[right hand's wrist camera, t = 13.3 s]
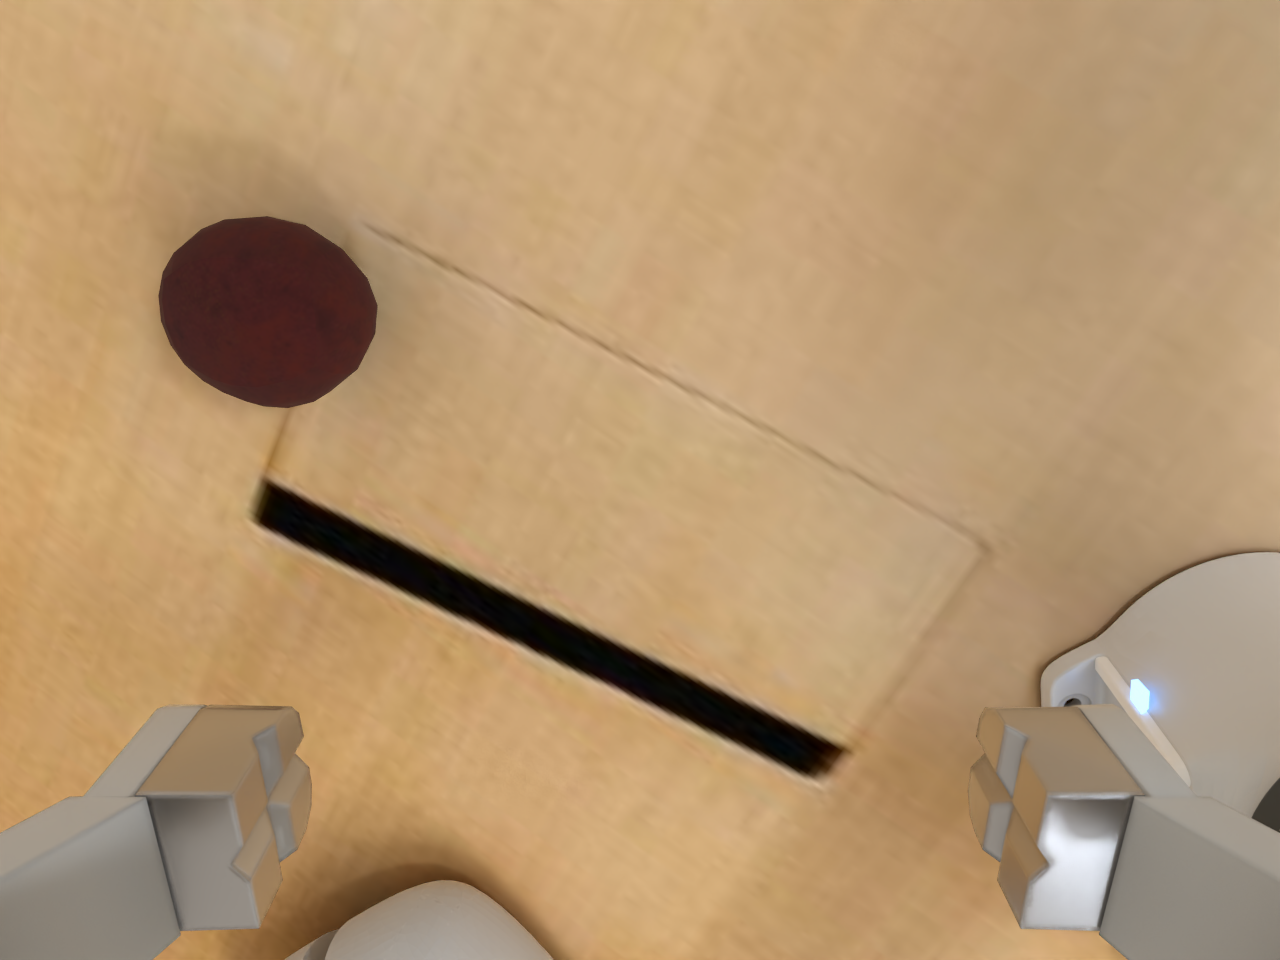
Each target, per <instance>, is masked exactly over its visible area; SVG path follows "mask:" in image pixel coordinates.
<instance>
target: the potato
mask: <svg viewBox="0 0 1280 960" xmlns="http://www.w3.org/2000/svg"><path fill="white" fill-rule="evenodd" d="M159 305H160V315H161V322H162V324H163V327H164V329H165V332H166V334H167V337H168V339H169V342H170V344H171V346H172V348H173V349H174V350H175V352H176V353H177V355H178V356H179V357H180V359H181V360H182V362H183V363H184V364H185V365H186V366H187V367H188V368H189V369H190V370H191V371H193V372H194V373H195V374H196V375H197V376H198V377H199V378H201V379H202V380H203V381H204V382H206V383H208V384H210V385H211V386H213V387H215V388H217V389H218V390H220V391H222V392H224V393H226V394H229V395H231V396H234V397H236V398H239V399H242V400H244V401H247V402H251V403H254V404H258V405H261V406H267V407H282V408H290V407H294V406H298V405H302V404H306V403H310V402H314V401H316V400H317V399H319V398H320V397H322V396H324V395H325V394H327V393H328V392H330V391H331V390H332V389H334V388H335V387H336V386H337V385H339V384H340V383H341V382H342V381H343V380H345V379H346V378H347V377H348V376H350V375H351V374H352V373H353V372H354V371H356V370H357V369H358V367H359V365H360V363H361V361H362V359H363V357H364V355H365V353H366V351H367V349H368V347H369V345H370V343H371V341H372V339H373V337H374V335H375V328H376V317H377V303H376V300H375V297H374V295H373V292H372V289H371V287H370V284H369V281H368V279H367V277H366V276H365V275H364V274H363V273H362V272H361V270H360V269H359V268H358V267H357V266H356V265H355V263H354V262H353V261H352V260H351V259H350V258H349V256H348V255H347V254H346V253H345V252H344V251H343V250H342V249H341V248H340V247H338V246H337V245H335V244H334V243H332V242H331V241H329V240H327V239H326V238H324V237H323V236H321V235H320V234H318V233H317V232H315V231H314V230H312V229H310V228H309V227H307V226H306V225H302V224H298V223H294V222H289V221H285V220H281V219H276V218H272V217H268V216H266V217H254V218H241V219H228V220H223V221H220V222H218V223H215V224H213V225H211V226H208V227H206V228H203V229H201V230H200V231H199V232H198V233H197V234H195V235H194V236H193V237H192V238H191V239H190V240H188V241H187V242H186V243H185V244H184V245H183V246H181V247H180V248H179V249H178V250H177V251H176V252H174V253H173V255H172V257H171V259H170V261H169V262H168V264H167V266H166V268H165V270H164V271H163V274H162V280H161V286H160V291H159Z"/></svg>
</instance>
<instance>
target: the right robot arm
mask: <svg viewBox="0 0 1280 960" xmlns="http://www.w3.org/2000/svg"><path fill="white" fill-rule="evenodd" d="M1072 698H1074V700H1073V701H1072V702H1070V703H1068V704H1065V702H1066V701H1067V700H1069V699H1072ZM303 737H304V735H303V730H302V725H301V721H300V716H299V713H298V712H297V711H296V710H295V709H294V708H293V707H287V706H241V705H209V706H206V705H167V706H164V707H161V708H158V709H157V710H156V711H155V712H154V713H153V714H152V715H151V717H150V718H149V719H148V720H147V721H146V723H145V724H144V725H143V726H142V727H141V728H140V730H139V731H138V732H137V733H136V734H135V736H134V737H133V738H132V739H131V740H130V741H129V743H128V744H127V745H126V746H125V747H124V749H123V750H122V751H121V752H120V753H119V754H118V756H117V757H116V758H115V759H114V760H113V762H112V763H111V764H110V765H109V766H108V768H107V769H106V770H105V771H104V772H103V773H102V775H101V776H100V777H99V778H98V779H97V781H96V782H95V783H94V784H93V785H92V786H91V788H90V789H89V790H88V791H87V792H86V794H85V795H84V796H83V797H68V798H66V799H64V800H62V801H60V802H58V803H56V804H54V805H52V806H51V807H49V808H47V809H45V810H43V811H41V812H39V813H37V814H35V815H33V816H32V817H30V818H28V819H26V820H24V821H22V822H20V823H18V824H16V825H14V826H12V827H11V828H9V829H7V830H5V831H3V832H1V833H0V960H153V959H154V958H155V957H156V956H157V955H158V954H160V953H161V952H162V951H163V950H164V949H165V948H166V947H168V946H169V945H170V944H171V943H172V942H173V941H175V940H176V939H177V938H178V937H179V936H180V935H181V933H180V931H193V930H227V929H259V928H260V926H261V924H262V922H263V920H264V918H265V916H266V914H267V912H268V910H269V908H270V905H271V903H272V901H273V899H274V897H275V895H276V893H277V891H278V889H279V887H280V885H281V883H282V881H283V879H282V873H281V868H280V862H281V861H282V860H284V859H285V858H286V857H288V856H289V855H291V854H292V853H293V852H295V851H296V850H297V849H298V847H299V845H300V843H301V840H302V838H303V836H304V834H305V831H306V828H307V824H308V819H309V814H310V810H311V805H312V783H311V777H310V770H309V767H308V766H307V765H306V764H305V763H304V762H303V761H302V760H301V759H300V758H299V757H298V756H297V755H296V754H295V752H296V750H297V748H298V746H299V744H300V742H301V741H302V739H303ZM976 737H977V739H978V741H979V742H980V744H981V746H982V748H983V750H984V752H985V754H984V755H983V756H982V757H981V758H980V759H979V760H978V761H977V762H976V763H975V764H974V765H973V766H972V767H971V771H970V779H969V786H968V798H969V810H970V817H971V820H972V824H973V828H974V831H975V834H976V836H977V838H978V840H979V843H980V845H981V847H982V849H983V850H984V851H985V852H987V853H988V854H989V855H991V856H992V857H994V858H995V859H996V860H998V861H999V862H1000V868H999V873H998V879H997V881H998V883H999V885H1000V887H1001V889H1002V891H1003V893H1004V895H1005V897H1006V899H1007V901H1008V903H1009V905H1010V907H1011V910H1012V912H1013V914H1014V916H1015V918H1016V920H1017V922H1018V924H1019V926H1020V928H1021V929H1051V930H1086V931H1100V933H1099V935H1100V936H1101V937H1102V938H1104V939H1105V940H1106V941H1107V942H1108V943H1109V944H1111V945H1112V946H1113V947H1114V948H1115V949H1116V950H1117V951H1119V952H1120V953H1121V954H1122V955H1123V956H1124V957H1126V958H1127V959H1128V960H1280V552H1253V553H1243V554H1237V555H1231V556H1226V557H1222V558H1218V559H1215V560H1211V561H1208V562H1205V563H1202V564H1199V565H1197V566H1194V567H1192V568H1189V569H1187V570H1185V571H1183V572H1181V573H1178V574H1176V575H1174V576H1173V577H1171V578H1169V579H1167V580H1165V581H1164V582H1162V583H1161V584H1159V585H1157V586H1156V587H1154V588H1153V589H1151V590H1150V591H1149V592H1147V593H1146V594H1145V595H1143V596H1142V597H1141V598H1139V599H1138V600H1137V601H1136V602H1135V603H1134V604H1132V605H1131V606H1130V607H1129V608H1128V609H1127V610H1126V611H1125V612H1124V613H1123V614H1122V615H1121V616H1120V617H1119V618H1118V619H1117V620H1116V621H1115V622H1114V623H1113V624H1112V625H1111V626H1110V627H1109V628H1108V629H1107V630H1106V631H1105V632H1103V633H1102V634H1101V635H1100V636H1098V637H1097V638H1096V639H1094V640H1092V641H1090V642H1088V643H1086V644H1084V645H1082V646H1080V647H1078V648H1076V649H1074V650H1072V651H1070V652H1068V653H1066V654H1064V655H1062V656H1061V657H1059V658H1058V659H1056V660H1054V661H1053V662H1052V663H1051V664H1049V665H1048V666H1047V668H1046V669H1045V670H1044V672H1043V674H1042V677H1041V707H987V708H985V709H984V711H983V713H982V714H981V716H980V718H979V724H978V729H977V735H976Z"/></svg>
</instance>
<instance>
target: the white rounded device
mask: <svg viewBox="0 0 1280 960" xmlns="http://www.w3.org/2000/svg"><path fill="white" fill-rule="evenodd" d="M284 960H554V959H553V958H552V957H551V956H550V954H549V953H548V952H547V951H546V950H545V949H544V948H543V947H542V946H541V945H540V944H539V942H538V941H537V940H536V939H535V938H534V937H533V936H532V935H531V934H530V933H529V932H528V931H527V930H526V929H525V928H524V927H523V926H522V925H521V924H520V923H519V922H518V921H517V920H516V919H515V918H514V917H513V916H512V915H511V914H509V913H508V912H507V911H506V910H505V909H504V908H503V907H502V906H500V905H499V904H498V903H497V902H495V901H494V900H493V899H491V898H490V897H489V896H488V895H486V894H485V893H483V892H481V891H479V890H478V889H476V888H474V887H473V886H471V885H468V884H465V883H462V882H458V881H453V880H438V881H433V882H428V883H424V884H421V885H418V886H415V887H412V888H409V889H406V890H404V891H402V892H399V893H397V894H395V895H393V896H391V897H389V898H387V899H385V900H383V901H381V902H380V903H378V904H376V905H374V906H372V907H370V908H369V909H367V910H365V911H363V912H362V913H360V914H358V915H357V916H355V917H353V918H351V919H350V920H348V921H347V922H346V923H345V924H344V925H343V926H342V927H341V928H340V929H338V930H334V931H331V932H328V933H326V934H324V935H322V936H321V937H319V938H317V939H316V940H314V941H312V942H311V943H309V944H307V945H306V946H304V947H303V948H301V949H299V950H298V951H296V952H295V953H293V954H292V955H290V956H289V957H287V958H286V959H284Z"/></svg>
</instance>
